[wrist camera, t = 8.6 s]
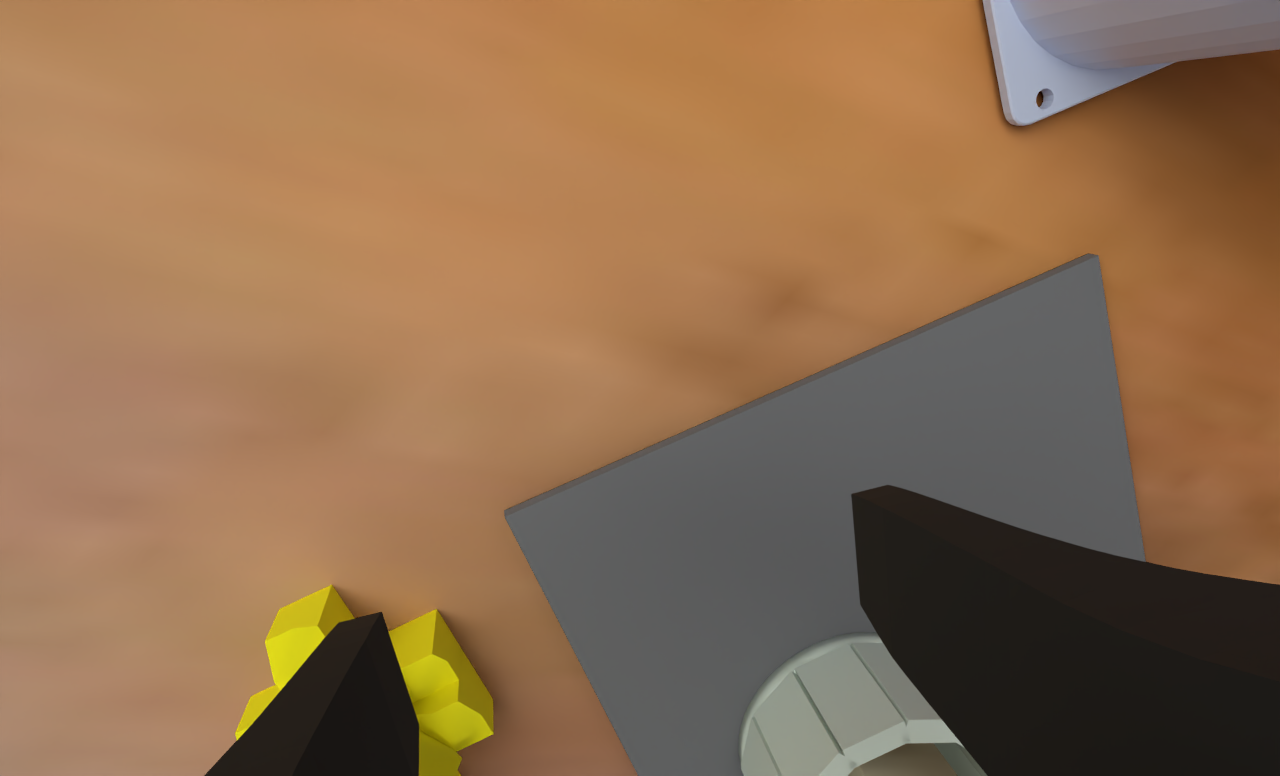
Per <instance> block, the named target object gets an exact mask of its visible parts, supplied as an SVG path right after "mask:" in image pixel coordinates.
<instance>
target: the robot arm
mask: <svg viewBox="0 0 1280 776" xmlns="http://www.w3.org/2000/svg"><path fill="white" fill-rule="evenodd" d="M983 5H984V11H985V16H986V21H987V27H988V32H989V37H990V43H991V48H992V53H993V59H994V64H995V69H996V74H997V80H998V85H999V90H1000V96H1001V101H1002V106H1003V112H1004V115H1005V118H1006V120H1007V121H1008V122H1009V123H1010V124H1012V125H1016V126H1024V125H1029V124H1032V123H1035V122H1037V121H1039V120H1042V119H1044V118H1046V117H1049V116H1051V115H1053V114H1056V113H1058V112H1060V111H1063V110H1065V109H1067V108H1070V107H1072V106H1074V105H1077V104H1079V103H1081V102H1084V101H1086V100H1089V99H1091V98H1093V97H1096V96H1098V95H1100V94H1103V93H1105V92H1107V91H1110V90H1112V89H1114V88H1117V87H1119V86H1121V85H1124V84H1126V83H1128V82H1131V81H1133V80H1135V79H1138V78H1140V77H1142V76H1145V75H1147V74H1149V73H1152V72H1154V71H1156V70H1159V69H1161V68H1164V67H1166V66H1168V65H1171V64H1173V63H1175V62H1178V61H1187V60H1195V59H1203V58H1212V57H1220V56H1229V55H1237V54H1246V53H1254V52H1262V51H1271V50H1279V49H1280V0H983ZM1040 91H1041V92H1042V94H1043V96H1044V98H1043V103H1042V105H1041V106H1040V107H1038V106H1037V104H1036V97H1037V95H1038V93H1039V92H1040ZM851 498H852V511H853V523H854V535H855V547H856V560H857V572H858V584H859V597H860V605H861V607H862V609H863V610H864V612H865V614H866V615H867V617H868V619H869V621H870V622H871V624H872V626H873V627H874V629H875V631H876V632H877V634H878V636H879V637H880V639H881V641H882V642H883V644H884V645H885V647H886V648H887V650H888V652H889V653H890V655H891V656H892V658H893V659H894V661H895V662H896V663H897V664H898V666H899V667H900V668H901V670H902V671H903V672H904V673H905V675H906V676H907V677H908V678H909V680H910V681H911V682H912V683H913V685H914V686H915V687H916V688H917V690H918V691H919V692H920V693H921V695H922V696H923V697H924V698H925V700H926V701H927V702H928V703H929V705H930V706H931V707H932V708H933V710H934V711H935V712H936V713H937V714H938V716H939V717H940V718H941V719H942V721H943V722H944V723H945V724H946V725H947V727H948V728H949V729H950V730H951V732H952V733H953V734H954V735H955V737H956V738H957V739H958V740H959V741H960V743H961V744H962V745H963V746H964V748H965V749H966V750H967V751H968V753H969V754H970V755H971V756H972V757H973V759H974V760H975V761H976V762H977V764H978V765H979V766H980V767H981V768H982V770H983V771H984V772H985V773H986V775H987V776H1280V585H1277V584H1269V583H1262V582H1255V581H1249V580H1242V579H1236V578H1229V577H1223V576H1216V575H1209V574H1203V573H1198V572H1192V571H1187V570H1181V569H1176V568H1171V567H1166V566H1162V565H1157V564H1153V563H1148V562H1143V561H1139V560H1134V559H1130V558H1125V557H1121V556H1116V555H1112V554H1108V553H1104V552H1100V551H1096V550H1092V549H1089V548H1085V547H1082V546H1078V545H1075V544H1071V543H1068V542H1064V541H1061V540H1057V539H1054V538H1050V537H1047V536H1043V535H1040V534H1037V533H1034V532H1031V531H1028V530H1024V529H1021V528H1018V527H1015V526H1012V525H1009V524H1006V523H1003V522H1000V521H997V520H994V519H991V518H988V517H985V516H982V515H979V514H977V513H974V512H971V511H968V510H965V509H962V508H959V507H956V506H954V505H951V504H948V503H945V502H942V501H939V500H936V499H934V498H931V497H928V496H925V495H922V494H919V493H916V492H913V491H909V490H906V489H903V488H899V487H895V486H891V485H885V486H881V487H877V488H873V489H869V490H865V491H861V492H857V493H853V494H851ZM205 776H419V722H418V719H417V716H416V713H415V710H414V707H413V704H412V701H411V698H410V695H409V692H408V689H407V686H406V683H405V680H404V677H403V674H402V671H401V668H400V665H399V662H398V659H397V656H396V653H395V650H394V647H393V644H392V641H391V638H390V635H389V632H388V629H387V626H386V623H385V620H384V617H383V614H382V612H379V613H375V614H371V615H367V616H363V617H359V618H355V619H351V620H347V621H343V622H339V623H338V624H337V625H336V626H335V627H334V628H333V629H332V630H331V631H330V632H329V633H328V635H327V636H326V637H325V638H324V639H323V640H322V642H321V643H320V644H319V645H318V646H317V648H316V649H315V650H314V651H313V652H312V654H311V655H310V656H309V657H308V658H307V660H306V661H305V662H304V663H303V664H302V666H301V667H300V668H299V669H298V670H297V672H296V673H295V674H294V675H293V677H292V678H291V679H290V680H289V681H288V682H287V684H286V685H285V686H284V687H283V688H282V690H281V691H280V692H279V693H278V694H277V695H276V697H275V698H274V699H273V700H272V701H271V702H270V704H269V705H268V706H267V707H266V708H265V710H264V711H263V712H262V713H261V714H260V715H259V717H258V718H257V719H256V720H255V721H254V722H253V724H252V725H251V726H250V727H249V728H248V729H247V730H246V731H245V732H244V733H243V734H242V736H241V737H240V738H239V739H238V740H237V741H236V742H235V743H234V744H233V745H232V746H231V747H230V749H229V750H228V751H227V752H226V753H225V754H224V755H223V756H222V757H221V758H220V759H219V760H218V762H217V763H216V764H215V765H214V766H213V767H212V768H211V769H210V770H209V771H208V772H207V773H206V775H205Z"/></svg>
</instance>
